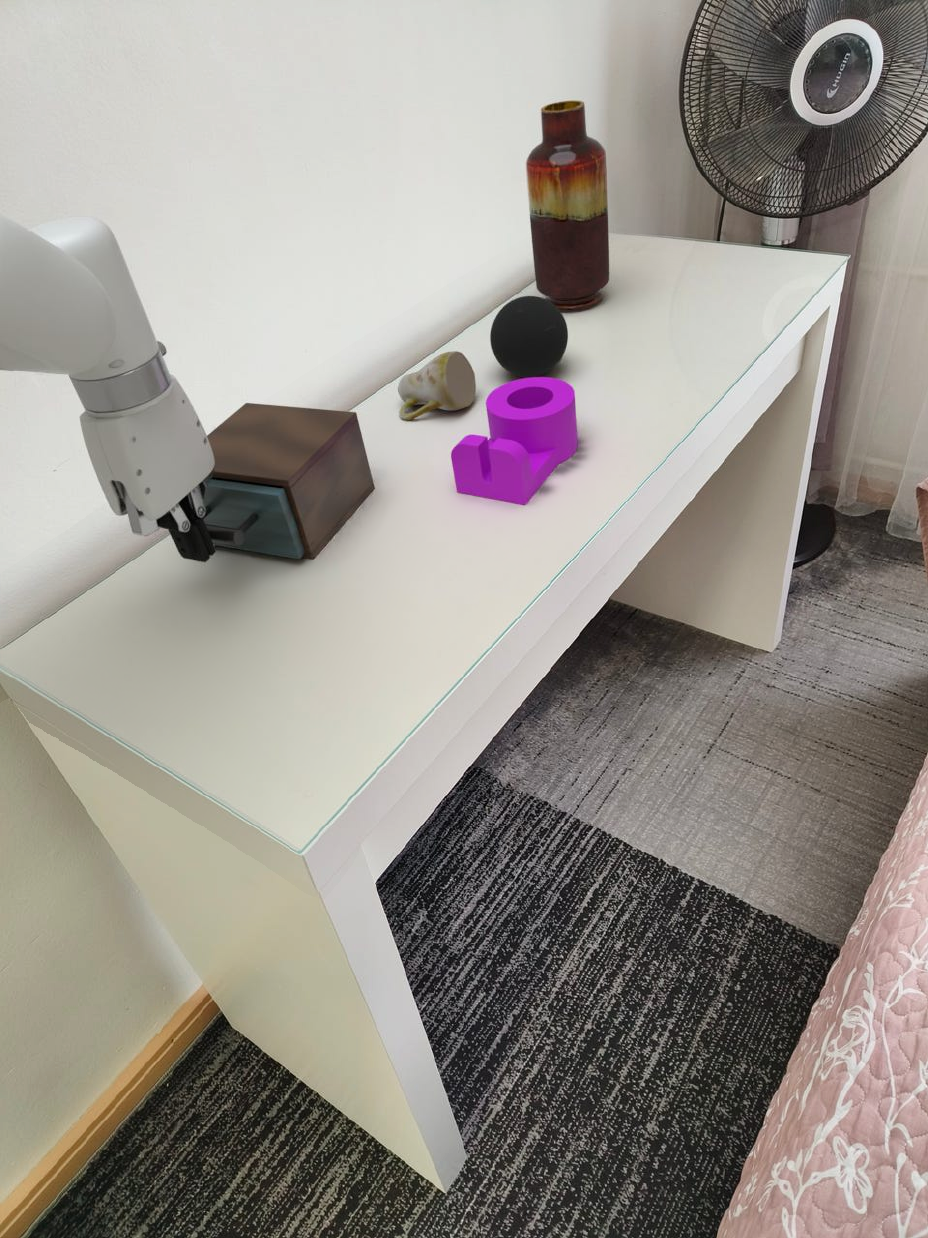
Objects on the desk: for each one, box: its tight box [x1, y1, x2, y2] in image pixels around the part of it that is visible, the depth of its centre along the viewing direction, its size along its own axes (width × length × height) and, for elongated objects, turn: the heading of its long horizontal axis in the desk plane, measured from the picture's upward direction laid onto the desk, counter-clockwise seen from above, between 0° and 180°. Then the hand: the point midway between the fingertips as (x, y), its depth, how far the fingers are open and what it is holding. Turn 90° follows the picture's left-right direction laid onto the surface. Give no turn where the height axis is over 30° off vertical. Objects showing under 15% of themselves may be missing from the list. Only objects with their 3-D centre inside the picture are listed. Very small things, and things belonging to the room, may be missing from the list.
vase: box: [525, 100, 610, 313], centre depth 121 cm, size 11×11×26 cm
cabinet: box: [206, 402, 376, 560], centre depth 92 cm, size 14×15×10 cm
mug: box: [397, 350, 477, 421], centre depth 107 cm, size 8×10×10 cm
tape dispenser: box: [450, 376, 579, 506], centre depth 94 cm, size 16×10×6 cm, turn 151°
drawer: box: [202, 477, 305, 560], centre depth 89 cm, size 17×13×8 cm
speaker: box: [489, 295, 569, 378], centre depth 109 cm, size 10×10×10 cm
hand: (199, 555), depth 82 cm, fingers closed
